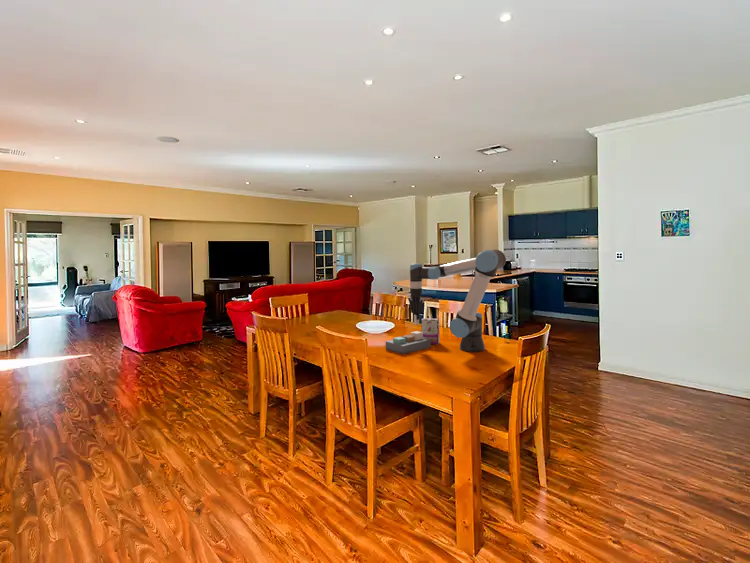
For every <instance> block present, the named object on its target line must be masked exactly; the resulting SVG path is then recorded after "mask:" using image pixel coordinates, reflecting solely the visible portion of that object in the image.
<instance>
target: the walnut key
mask: <svg viewBox="0 0 750 563" xmlns="http://www.w3.org/2000/svg"><path fill="white" fill-rule="evenodd" d="M401 337H403V338H406V342H411V341H415V340H414V336H411V334H406V335H402V336H401Z"/></svg>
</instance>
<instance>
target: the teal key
mask: <svg viewBox="0 0 750 563" xmlns="http://www.w3.org/2000/svg"><path fill="white" fill-rule="evenodd" d="M392 338H393V339H392V340H393V343H396V344H402V343H406V338H403V337H402V336H397V337H392Z"/></svg>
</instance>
